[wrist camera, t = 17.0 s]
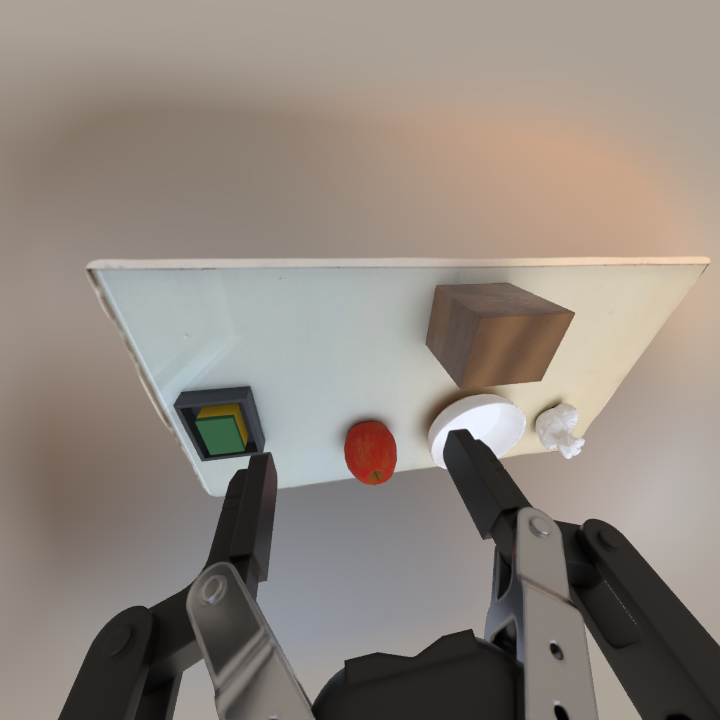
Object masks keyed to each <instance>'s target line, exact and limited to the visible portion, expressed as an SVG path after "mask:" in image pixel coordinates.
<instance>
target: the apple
mask: <svg viewBox="0 0 720 720" xmlns="http://www.w3.org/2000/svg"><path fill="white" fill-rule="evenodd" d="M344 452H345V460H346V463H347V466H348V469H349V470H350V471H351V473H352V474H353V475H354V476H355V477H356V478H357V479H358V480H360V481H361V482H363V483H365V484H370V485H377V484H381V483H383V482H385V481H387V480H388V479H389V478H390V477H391V476H392V474H393V472H394V469H395V465H396V461H397V449H396V443H395V440H394V437H393V435H392V434H391V433H390V431H389V430H388V429H387V428H386V427H385V426H384V425H383V424H381V423H378V422H369V421H368V422H364V423H360V424H358V425H356V426H354V427H353V428H352V429H351V430H350V431H349V433H348V435H347V437H346V441H345V446H344Z"/></svg>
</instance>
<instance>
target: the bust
mask: <svg viewBox="0 0 720 720" xmlns="http://www.w3.org/2000/svg"><path fill="white" fill-rule="evenodd" d="M578 418H579V417H578V412H577V410H576V408H575V407H573V406H572V405H570V404H568V403H561V404H559V405H558V406H556V407H555V408H551V409H549V410H547V411H545V412H543V413H541V414H540V416H539V417H538V418H537V420H536V428H535V431H536V432H537V433H538V436H539V439H540V442H541V444H542V445H543V446H544V447H545V448H547V449H554V448H556V447H557V448H558V451H560V452H561V453H562V455H563V457H565V458H567V459H570V458H571V456H572V455H576V456H577V454H578V453H580V451H581V449H580V446H583V445H584V442H585V440H584V439H582V438H576V437H574V436H573V434H572V428H573V427H574V426H575V424H576V423H577V421H578Z"/></svg>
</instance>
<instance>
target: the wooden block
mask: <svg viewBox="0 0 720 720" xmlns="http://www.w3.org/2000/svg"><path fill="white" fill-rule="evenodd" d="M574 315H575V312H572V311H570V310H568V309H566V308H563V307H561V306H559V305H557V304H554V303H552V302H550V301H548V300H546V299H543V298H541V297H539V296H537V295H534V294H532V293H530V292H528V291H525V290H523V289H521V288H519V287H517V286H514V285H512V284H510V283H498V284H469V285H441V286H436V290H435V295H434V301H433V306H432V312H431V318H430V323H429V329H428V334H427V340H426V345H427V347H428V348H429V349H430V351H431V352H432V353H433V355H434V356H435V357H436V358H437V360H438V361H439V362H440V364H441V365H442V366H443V367H444V369H445V370H446V371H447V373H448V374H449V375H450V377H451V378H452V379H453V380H454V382H455V383H456V384H457V386H458V387H459V388H460V389H466V388H476V387H486V386H497V385H507V384H517V383H527V382H537V381H541V380H542V378H543V376H544V374H545V372H546V370H547V368H548V366H549V364H550V362H551V360H552V358H553V357H554V355H555V353H556V351H557V349H558V347H559V345H560V343H561V341H562V339H563V337H564V335H565V333H566V331H567V329H568V327H569V325H570V323H571V321H572V319H573V317H574Z"/></svg>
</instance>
